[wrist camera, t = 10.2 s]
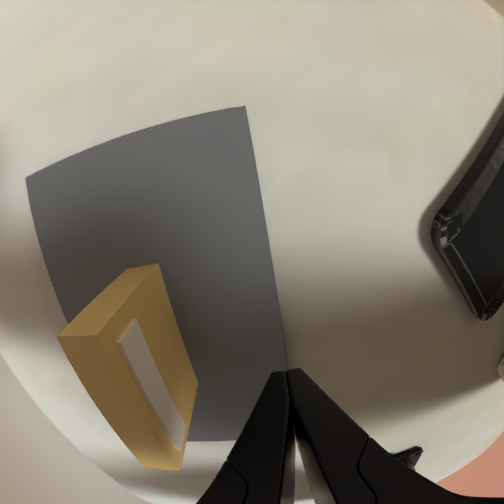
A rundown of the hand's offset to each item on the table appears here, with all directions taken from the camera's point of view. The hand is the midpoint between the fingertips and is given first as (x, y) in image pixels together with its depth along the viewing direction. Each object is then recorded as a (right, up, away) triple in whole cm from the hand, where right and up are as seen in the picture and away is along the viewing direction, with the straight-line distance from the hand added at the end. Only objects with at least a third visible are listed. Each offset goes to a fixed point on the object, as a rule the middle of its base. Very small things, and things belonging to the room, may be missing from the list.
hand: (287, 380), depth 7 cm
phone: (+14, +8, +3) cm, 16 cm away
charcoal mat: (-5, 0, +4) cm, 6 cm away
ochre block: (-5, 0, +4) cm, 6 cm away
